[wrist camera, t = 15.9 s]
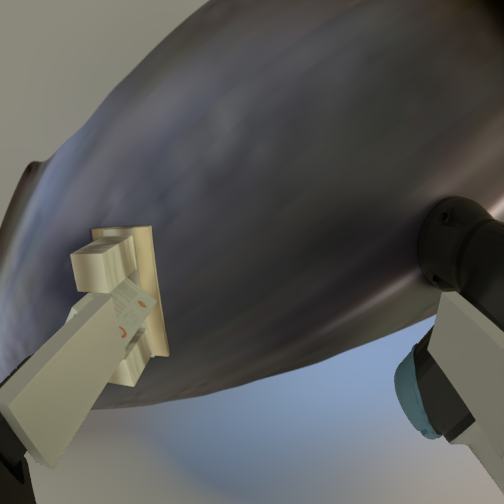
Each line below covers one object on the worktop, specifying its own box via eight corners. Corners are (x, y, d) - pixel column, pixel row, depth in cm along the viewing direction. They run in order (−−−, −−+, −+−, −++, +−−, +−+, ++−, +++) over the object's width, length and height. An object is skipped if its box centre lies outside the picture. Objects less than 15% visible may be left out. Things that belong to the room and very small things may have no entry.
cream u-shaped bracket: (151, 225, 41) (118, 245, 31) (170, 353, 48) (151, 393, 38) (94, 228, 42) (54, 246, 32) (119, 348, 48) (94, 383, 38)
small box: (101, 296, 44) (57, 336, 31) (117, 268, 42) (71, 305, 30) (140, 327, 45) (106, 376, 32) (158, 301, 43) (124, 349, 31)
